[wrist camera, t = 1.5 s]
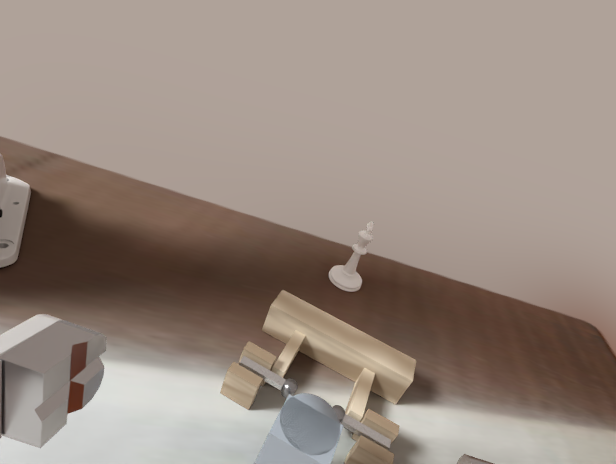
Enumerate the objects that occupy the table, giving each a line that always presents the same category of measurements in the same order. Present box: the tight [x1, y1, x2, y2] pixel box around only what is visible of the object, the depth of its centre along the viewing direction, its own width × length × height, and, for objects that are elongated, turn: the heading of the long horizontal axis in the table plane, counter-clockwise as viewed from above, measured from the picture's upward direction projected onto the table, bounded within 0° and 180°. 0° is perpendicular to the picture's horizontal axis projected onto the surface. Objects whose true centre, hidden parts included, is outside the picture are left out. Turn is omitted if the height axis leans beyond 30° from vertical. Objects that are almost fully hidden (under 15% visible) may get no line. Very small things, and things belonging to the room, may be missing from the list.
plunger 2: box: [333, 405, 391, 450], centre depth 33 cm, size 1×6×1 cm, turn 68°
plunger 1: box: [239, 356, 298, 398], centre depth 35 cm, size 1×6×1 cm, turn 67°
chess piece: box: [329, 222, 374, 292], centre depth 53 cm, size 5×5×10 cm
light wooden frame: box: [220, 290, 416, 464], centre depth 38 cm, size 12×16×4 cm
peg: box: [254, 393, 343, 464], centre depth 27 cm, size 4×4×10 cm
